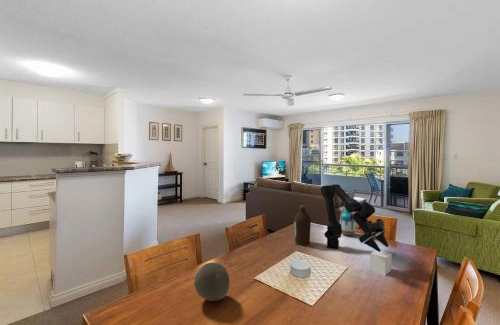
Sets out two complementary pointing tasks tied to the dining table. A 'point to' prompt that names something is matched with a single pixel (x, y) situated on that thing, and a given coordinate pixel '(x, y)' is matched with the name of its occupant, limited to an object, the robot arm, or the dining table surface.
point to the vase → (347, 223)
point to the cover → (380, 262)
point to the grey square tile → (399, 261)
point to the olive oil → (302, 227)
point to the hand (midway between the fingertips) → (384, 249)
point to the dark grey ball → (212, 281)
